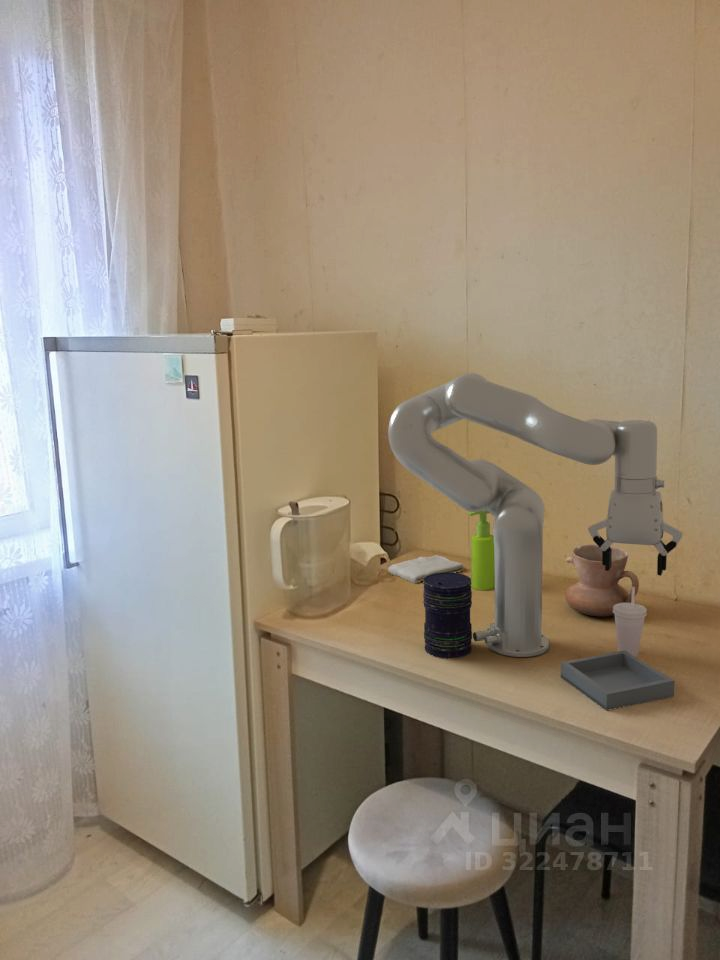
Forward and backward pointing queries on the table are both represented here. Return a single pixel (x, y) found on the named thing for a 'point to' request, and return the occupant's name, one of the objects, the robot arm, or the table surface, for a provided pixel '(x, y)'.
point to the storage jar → (447, 615)
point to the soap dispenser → (482, 554)
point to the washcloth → (424, 568)
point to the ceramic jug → (598, 581)
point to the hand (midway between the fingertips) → (633, 571)
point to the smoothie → (629, 625)
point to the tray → (617, 679)
